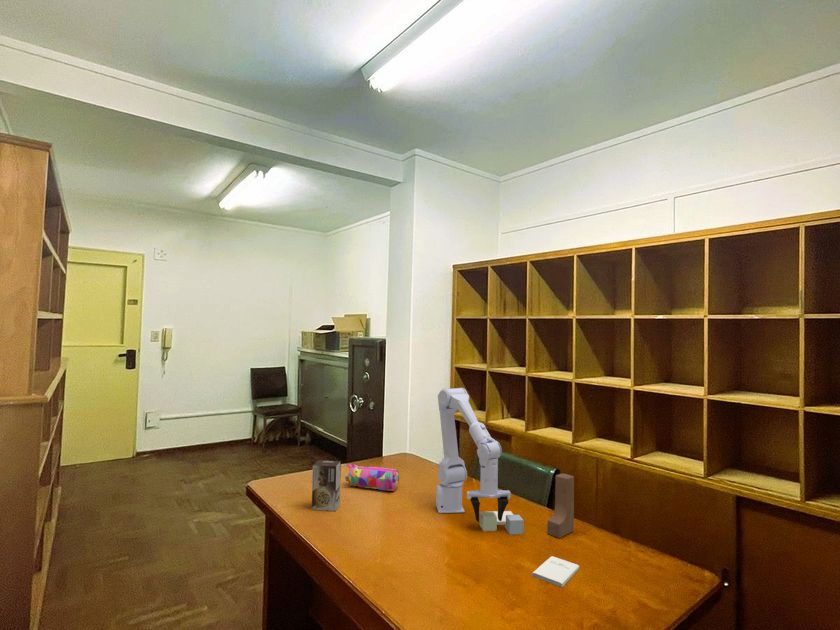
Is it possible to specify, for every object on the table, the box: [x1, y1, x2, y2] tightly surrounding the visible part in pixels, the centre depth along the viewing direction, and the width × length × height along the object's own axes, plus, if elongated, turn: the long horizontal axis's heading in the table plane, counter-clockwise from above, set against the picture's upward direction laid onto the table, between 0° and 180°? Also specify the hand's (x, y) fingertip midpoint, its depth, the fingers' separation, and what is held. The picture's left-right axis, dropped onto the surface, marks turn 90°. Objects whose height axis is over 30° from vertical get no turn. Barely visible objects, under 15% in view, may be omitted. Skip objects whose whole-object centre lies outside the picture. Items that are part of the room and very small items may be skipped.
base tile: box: [490, 510, 515, 526], centre depth 157 cm, size 9×9×2 cm
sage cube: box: [479, 511, 498, 532], centre depth 149 cm, size 4×4×4 cm
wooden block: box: [546, 473, 575, 539], centre depth 147 cm, size 9×4×18 cm, turn 131°
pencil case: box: [344, 463, 400, 492], centre depth 186 cm, size 22×9×9 cm, turn 74°
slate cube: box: [505, 514, 525, 535], centre depth 147 cm, size 4×4×4 cm
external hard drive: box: [531, 555, 580, 588], centre depth 122 cm, size 2×8×12 cm
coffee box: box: [311, 459, 342, 512], centre depth 164 cm, size 9×6×16 cm
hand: (488, 519), depth 149 cm, fingers open, 7 cm apart
